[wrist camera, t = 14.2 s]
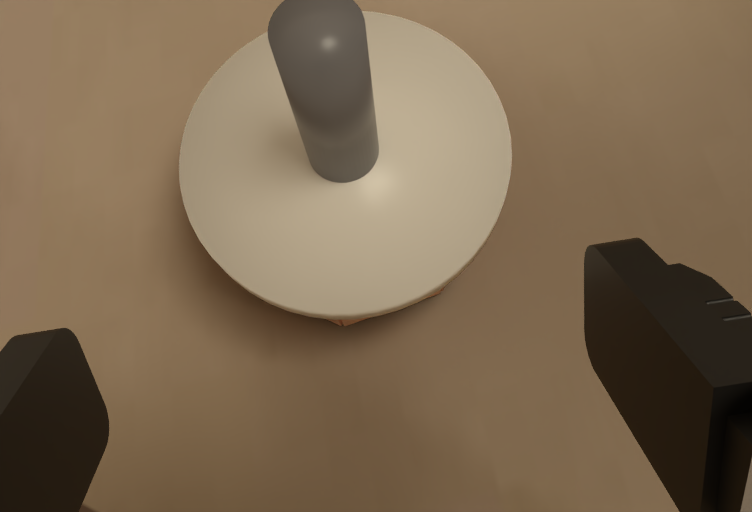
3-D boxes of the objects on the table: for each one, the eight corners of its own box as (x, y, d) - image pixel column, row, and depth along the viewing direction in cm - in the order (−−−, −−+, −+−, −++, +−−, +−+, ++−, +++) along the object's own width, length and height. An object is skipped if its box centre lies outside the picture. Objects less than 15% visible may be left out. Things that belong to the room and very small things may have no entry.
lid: (283, -12, 32) (234, -194, 23) (557, 92, 29) (617, -67, 21) (127, 235, 28) (0, 129, 20) (423, 378, 26) (427, 331, 17)
